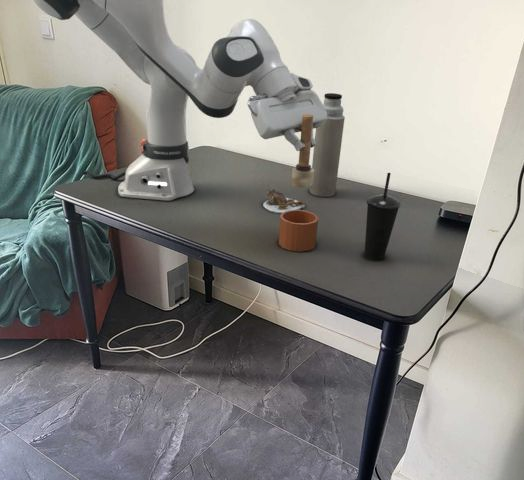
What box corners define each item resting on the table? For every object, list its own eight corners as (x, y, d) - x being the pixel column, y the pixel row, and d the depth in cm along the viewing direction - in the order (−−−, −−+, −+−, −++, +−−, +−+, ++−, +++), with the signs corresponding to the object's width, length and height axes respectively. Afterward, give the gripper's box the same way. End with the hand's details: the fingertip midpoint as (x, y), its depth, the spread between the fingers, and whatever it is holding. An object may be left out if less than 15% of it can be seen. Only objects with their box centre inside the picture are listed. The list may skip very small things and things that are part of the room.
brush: (289, 186, 119) (294, 116, 110) (293, 180, 123) (298, 112, 114) (311, 188, 118) (318, 118, 109) (313, 182, 122) (320, 114, 113)
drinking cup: (355, 249, 128) (367, 167, 116) (384, 249, 129) (400, 168, 117) (362, 263, 122) (376, 178, 110) (393, 263, 123) (411, 179, 111)
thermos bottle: (310, 187, 165) (319, 90, 148) (335, 189, 164) (347, 92, 148) (309, 195, 158) (318, 95, 142) (335, 197, 158) (348, 97, 141)
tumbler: (280, 251, 125) (282, 224, 121) (277, 235, 133) (278, 209, 129) (318, 251, 126) (321, 224, 122) (312, 236, 134) (314, 210, 130)
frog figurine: (254, 206, 149) (254, 193, 147) (277, 196, 157) (277, 183, 155) (287, 216, 144) (288, 203, 142) (309, 205, 152) (310, 192, 150)
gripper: (252, 87, 106) (284, 147, 107) (314, 79, 119) (343, 132, 119) (236, 107, 111) (267, 164, 112) (298, 97, 124) (326, 148, 124)
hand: (307, 147), depth 115 cm, fingers closed on brush, 2 cm apart
